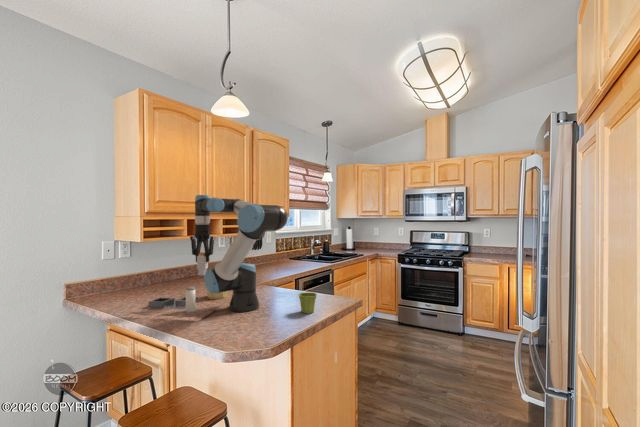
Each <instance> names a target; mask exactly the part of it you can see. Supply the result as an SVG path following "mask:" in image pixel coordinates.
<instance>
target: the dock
mask: <svg viewBox="0 0 640 427" xmlns="http://www.w3.org/2000/svg"><path fill="white" fill-rule="evenodd" d="M197 303H199V300H198V297H196V296H195V305H196V304H197ZM147 308H148V309H163V310H164V309H167V310H186V296H183V297H180V298H177V299H175V297H157V298H155V299H152V300H150V301H148V307H147Z"/></svg>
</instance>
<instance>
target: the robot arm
mask: <svg viewBox="0 0 640 427" xmlns="http://www.w3.org/2000/svg"><path fill="white" fill-rule="evenodd" d="M212 213H213V214H215V213H216V214H224V213H225V214H227V213H228V214H236V215H237V220H236V221H237V227H238V228H237V229H238V232H237V234H236V236H235V238H234V239H233V241H232V242H231V244H230V246H229V248H227V251H226V253H225V254H224V257H223V258H222V259H221V261H218V262H217V263H216V264H215V265H214V266H213V268H209V262H210V256H211V255H213V254H214V246H215V239H216V236H214V235H212V234H211V224H210V223H211V214H212ZM288 217H289V216H288V213H287V211H286V210H285V209H284V207H282V206H281V205H276V204H258V203H253V202H250V201H249V202H248V201H246V200H244V199H241V198H219V197H211V196H210V194H209V195H208V194H197V195H195V198H194V223H195V225H194V231H195V233H194V235H192V236H189V237H190V238H189V240H190V242H191V255H193V256H195V262H196V268H197V270H198V253H200V252H201V248H202V243H203V248H204V252H205V256H204V269H206V268H207V271H206V272H205V275H204V285H205V288H206V291H207V290H208V291H209V292H210V293H212V294H214V293H221V292H226V291H229V292H230V291H232V296H231V300H230V302H229V305H228V306H229V310H230V311H232V312H237V313H238V312H239V313H241V312H242V313H244V312H245V313H246V312H251V311H255V310H258V309H259V308H260V301H259V298H258V295H257V288H256V287H257V279H256V278H257V271H256V270H257V269H256V268H257V267H256V265H255V264H252V263H246V262H245V263H243V262H244V260H245V259H246V257H247V256H248V254H249V252H250V251H251V249H252V248H253V246H254V245H255V243H256V241H259V240H261V239H262V238H263V236H264V235H265V234H266V232H276V231H279V230H282V229H283V228H284V227H285V226H286V224H287V222H288Z"/></svg>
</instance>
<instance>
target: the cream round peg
mask: <svg viewBox="0 0 640 427" xmlns="http://www.w3.org/2000/svg"><path fill="white" fill-rule="evenodd" d="M185 297H186V308H185V312H186V313H194V312H196V304H195V297H196V286H188V287H185Z"/></svg>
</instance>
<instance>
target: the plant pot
mask: <svg viewBox="0 0 640 427" xmlns="http://www.w3.org/2000/svg"><path fill="white" fill-rule="evenodd" d="M297 295H298V298H299V302H300V309H301V313H303V314H312V313H314V312H315V304H316V299H317V296H318V293H316V292H308V291H307V292H300V293H298V294H297Z"/></svg>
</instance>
